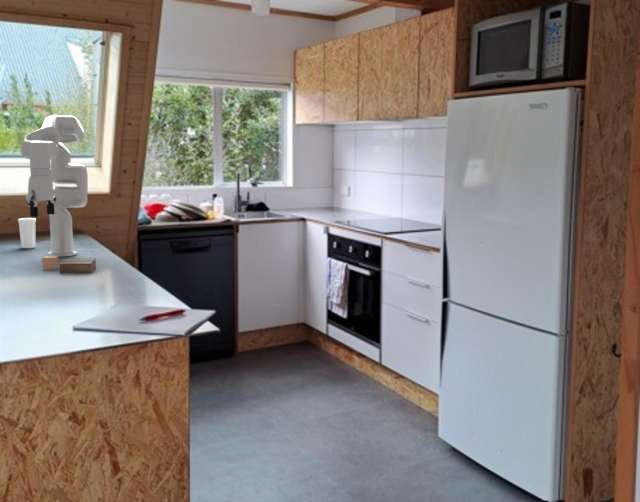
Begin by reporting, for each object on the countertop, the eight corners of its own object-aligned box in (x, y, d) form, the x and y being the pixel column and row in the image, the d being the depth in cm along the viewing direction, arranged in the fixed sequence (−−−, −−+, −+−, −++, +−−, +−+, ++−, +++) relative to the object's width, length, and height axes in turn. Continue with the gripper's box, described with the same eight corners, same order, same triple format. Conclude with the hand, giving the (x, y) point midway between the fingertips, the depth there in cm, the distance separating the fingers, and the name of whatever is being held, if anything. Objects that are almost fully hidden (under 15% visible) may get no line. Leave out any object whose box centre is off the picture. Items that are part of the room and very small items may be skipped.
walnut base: (66, 267, 278) (65, 258, 278) (95, 267, 280) (95, 258, 280) (59, 273, 267) (59, 263, 266) (90, 273, 269) (90, 263, 268)
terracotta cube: (45, 267, 279) (45, 255, 278) (58, 267, 279) (57, 255, 279) (42, 269, 274) (42, 258, 273) (55, 269, 274) (55, 257, 274)
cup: (20, 246, 326) (18, 217, 323) (38, 246, 328) (36, 217, 326) (18, 249, 318) (16, 220, 316) (36, 249, 320) (35, 219, 318)
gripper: (47, 171, 273) (49, 212, 276) (17, 173, 257) (19, 217, 260) (62, 172, 271) (64, 213, 274) (33, 174, 255) (35, 218, 258)
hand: (42, 215), depth 267 cm, fingers open, 9 cm apart
